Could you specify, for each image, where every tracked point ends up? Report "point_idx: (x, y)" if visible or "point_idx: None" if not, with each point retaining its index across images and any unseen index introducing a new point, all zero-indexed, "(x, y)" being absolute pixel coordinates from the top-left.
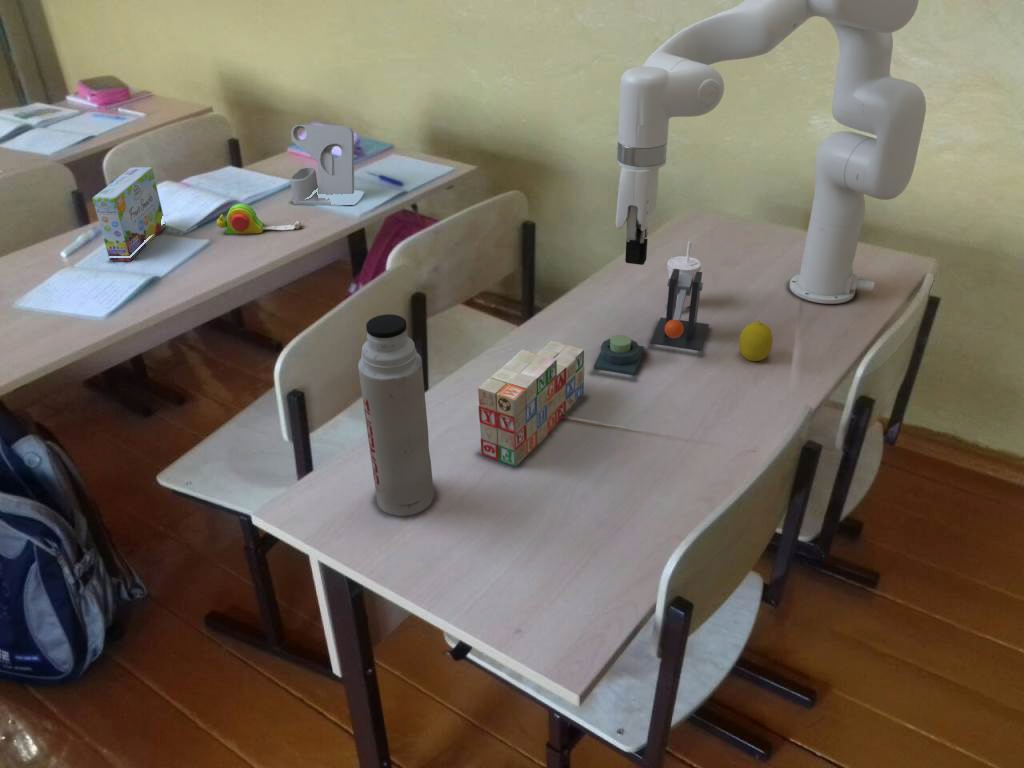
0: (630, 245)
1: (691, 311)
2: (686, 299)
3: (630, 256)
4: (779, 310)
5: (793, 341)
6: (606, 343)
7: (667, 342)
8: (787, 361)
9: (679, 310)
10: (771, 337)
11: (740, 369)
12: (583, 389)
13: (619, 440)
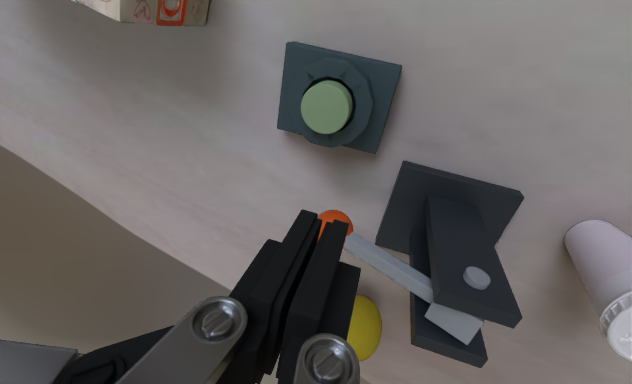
0: (229, 296)
1: None
2: (575, 265)
3: (260, 250)
4: (533, 374)
5: (422, 355)
6: (340, 71)
7: (402, 196)
8: None
9: (368, 260)
10: None
11: None
12: (194, 25)
13: (125, 97)
